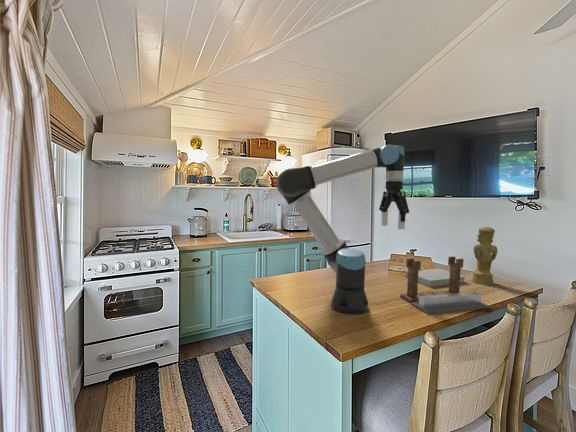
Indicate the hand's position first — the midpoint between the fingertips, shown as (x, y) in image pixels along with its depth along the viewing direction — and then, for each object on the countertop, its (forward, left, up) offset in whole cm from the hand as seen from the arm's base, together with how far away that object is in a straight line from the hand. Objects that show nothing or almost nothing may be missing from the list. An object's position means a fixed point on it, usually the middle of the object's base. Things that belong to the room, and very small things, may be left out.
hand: (392, 227), depth 134 cm
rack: (+17, -8, -32) cm, 37 cm away
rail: (+17, -18, -31) cm, 40 cm away
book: (+37, +16, -32) cm, 52 cm away
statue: (+60, +7, -32) cm, 68 cm away
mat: (+17, -18, -32) cm, 40 cm away
